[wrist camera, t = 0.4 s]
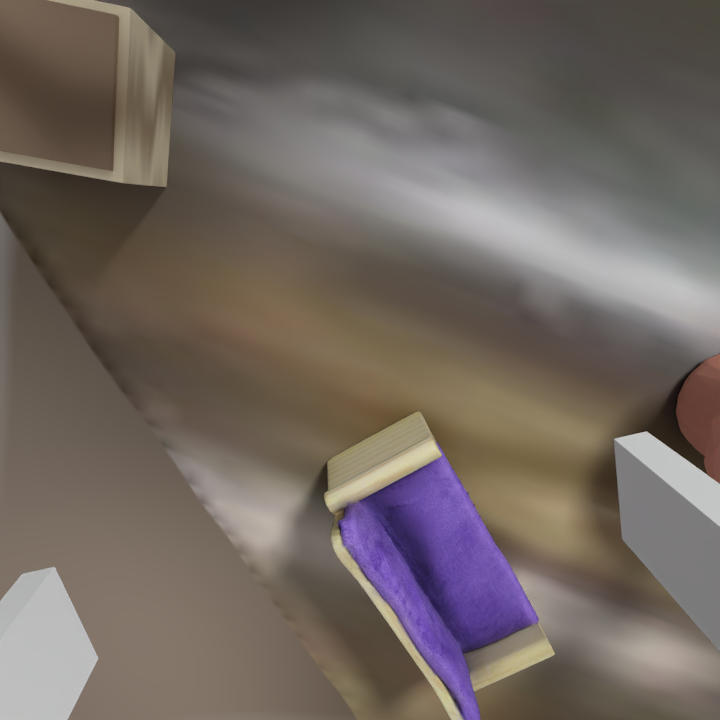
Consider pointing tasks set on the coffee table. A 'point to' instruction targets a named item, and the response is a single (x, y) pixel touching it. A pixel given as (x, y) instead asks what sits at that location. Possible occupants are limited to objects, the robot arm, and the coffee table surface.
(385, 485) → the toy sofa
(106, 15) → the maple cube
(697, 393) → the decorative flower
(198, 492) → the coffee table surface
